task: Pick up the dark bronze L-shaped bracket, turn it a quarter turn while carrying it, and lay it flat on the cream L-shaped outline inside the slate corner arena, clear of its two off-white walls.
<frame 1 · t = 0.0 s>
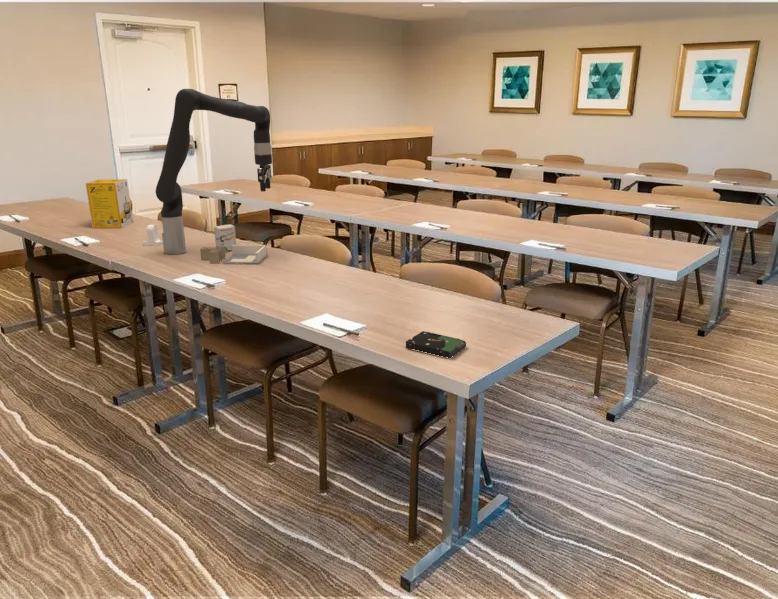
hand: (265, 189, 281), 29 cm above the table, tool pointing down, fingers open, 8 cm apart
bracket: (216, 261, 276), on the table
disk drive: (435, 349, 182), on the table
packaging box: (113, 225, 354), on the table
arena: (245, 259, 279), on the table
cable organizer: (154, 245, 309), on the table
ink box: (226, 250, 296), on the table
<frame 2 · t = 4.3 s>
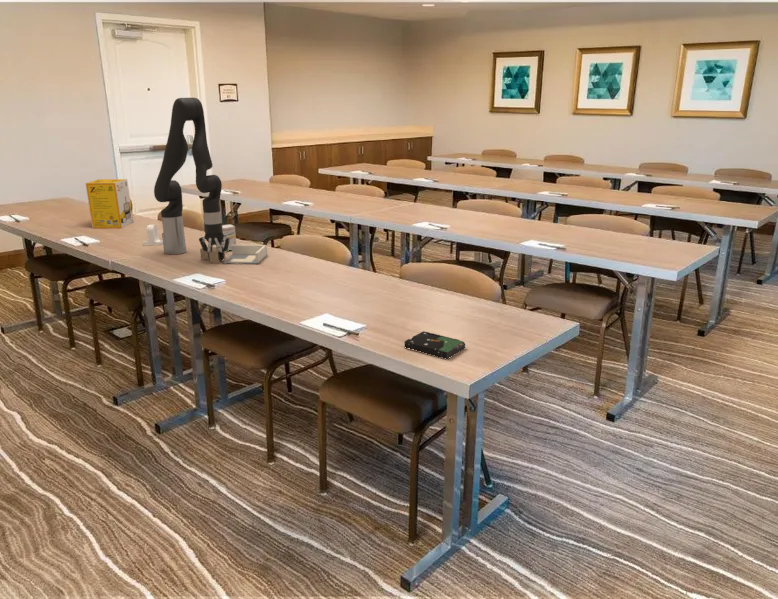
hand: (216, 259, 276), 1 cm above the table, tool pointing down, fingers closed on bracket, 4 cm apart
bracket: (216, 261, 276), on the table, touching gripper
everything else where it was.
when the fingers open (3 cm above the table, at t = 9.8 s): bracket drops 1 cm, resting on arena.
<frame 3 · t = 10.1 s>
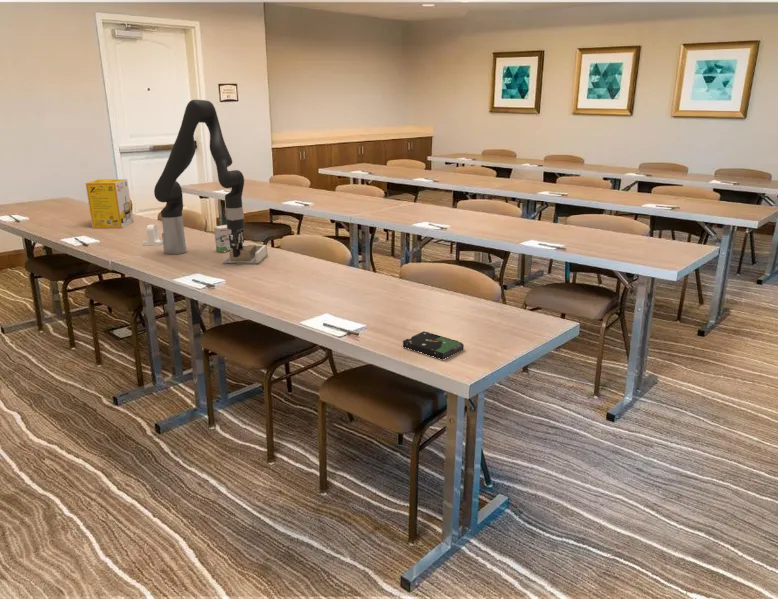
hand: (238, 254, 275), 3 cm above the table, tool pointing down, fingers open, 6 cm apart
bracket: (238, 260, 276), point 1 cm above the table, touching arena
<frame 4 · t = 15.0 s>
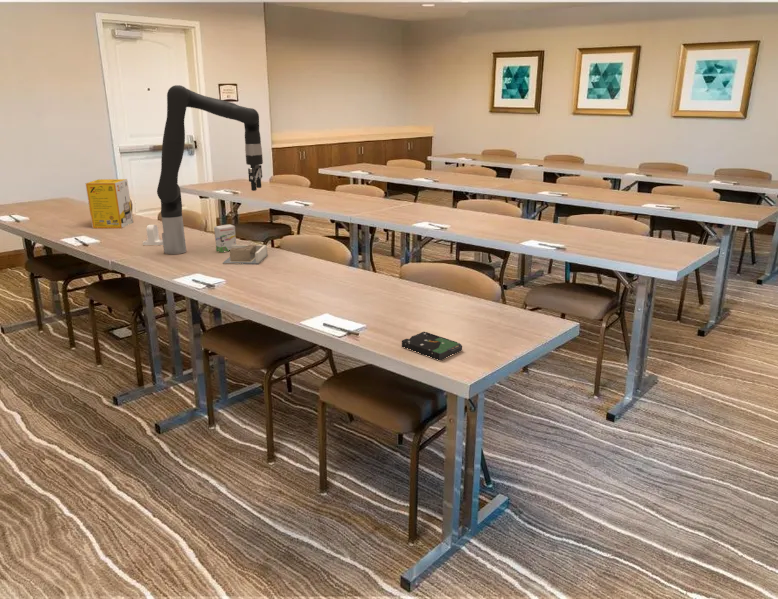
hand: (256, 189, 291), 28 cm above the table, tool pointing down, fingers open, 8 cm apart
at the end: bracket 0.1 cm from the target spot on the arena, point 0.7 cm above the arena's base; bracket tilted 0°; the gripper is holding nothing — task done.
